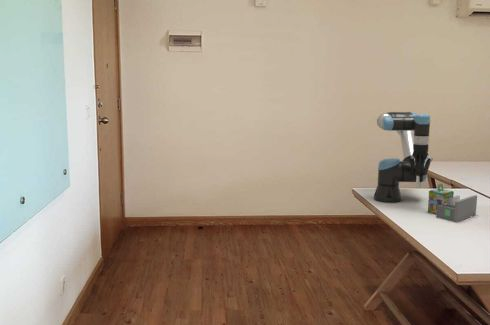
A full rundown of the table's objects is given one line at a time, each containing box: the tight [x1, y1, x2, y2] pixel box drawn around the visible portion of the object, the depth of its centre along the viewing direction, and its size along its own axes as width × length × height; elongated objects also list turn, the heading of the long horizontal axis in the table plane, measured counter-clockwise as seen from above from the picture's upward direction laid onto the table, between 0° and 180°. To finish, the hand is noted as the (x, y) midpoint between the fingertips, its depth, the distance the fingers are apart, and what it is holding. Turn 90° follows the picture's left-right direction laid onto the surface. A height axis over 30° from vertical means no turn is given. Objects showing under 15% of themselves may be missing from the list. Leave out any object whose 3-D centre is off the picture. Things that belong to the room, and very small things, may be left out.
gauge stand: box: [435, 194, 478, 223], centre depth 230 cm, size 11×20×10 cm, turn 128°
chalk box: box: [427, 183, 455, 214], centre depth 236 cm, size 9×9×15 cm
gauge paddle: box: [442, 195, 461, 208], centre depth 231 cm, size 1×16×8 cm, turn 128°
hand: (418, 187), depth 245 cm, fingers closed
